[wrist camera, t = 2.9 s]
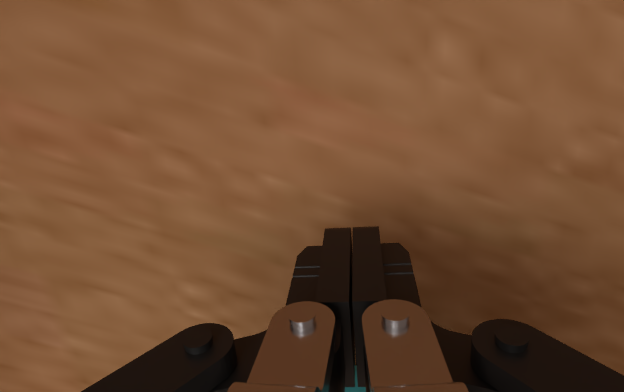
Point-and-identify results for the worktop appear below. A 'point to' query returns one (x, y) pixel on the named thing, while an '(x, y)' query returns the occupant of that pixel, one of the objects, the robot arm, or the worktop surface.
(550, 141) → the worktop surface
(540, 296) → the worktop surface
